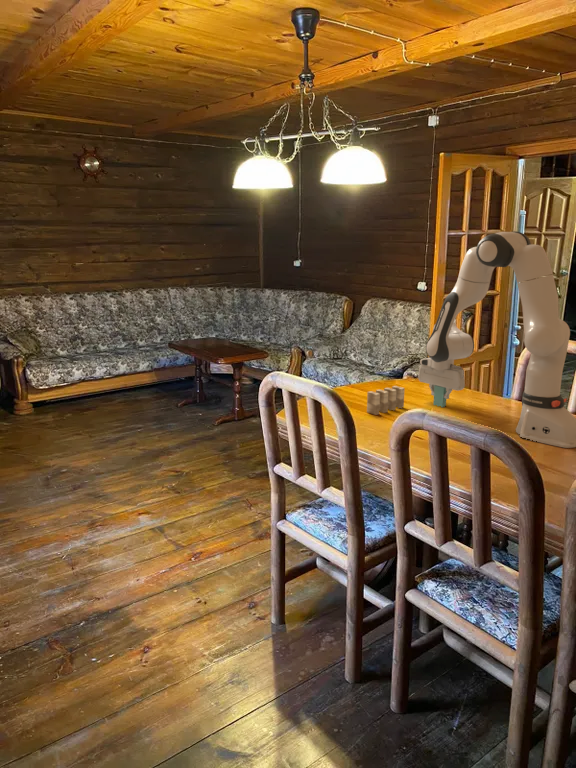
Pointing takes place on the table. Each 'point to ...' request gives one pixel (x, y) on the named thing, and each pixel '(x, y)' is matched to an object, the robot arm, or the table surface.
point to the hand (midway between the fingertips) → (440, 396)
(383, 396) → the domino
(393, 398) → the domino
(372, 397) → the domino
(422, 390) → the table surface
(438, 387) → the domino
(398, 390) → the domino
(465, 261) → the robot arm
